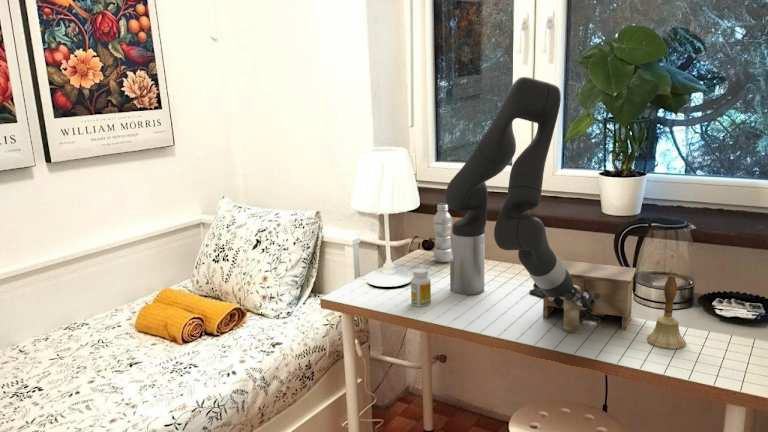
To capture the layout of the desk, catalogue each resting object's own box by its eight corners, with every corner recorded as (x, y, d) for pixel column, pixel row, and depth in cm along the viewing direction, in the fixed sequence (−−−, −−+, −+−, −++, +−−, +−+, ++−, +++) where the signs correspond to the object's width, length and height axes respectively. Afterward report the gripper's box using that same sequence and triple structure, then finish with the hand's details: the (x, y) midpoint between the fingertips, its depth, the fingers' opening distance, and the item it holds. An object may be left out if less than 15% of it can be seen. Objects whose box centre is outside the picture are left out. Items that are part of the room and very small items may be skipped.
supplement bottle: (433, 301, 170) (432, 268, 168) (428, 308, 165) (427, 274, 163) (414, 299, 172) (413, 266, 170) (409, 306, 167) (408, 272, 165)
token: (580, 325, 151) (580, 321, 151) (582, 319, 155) (582, 314, 155) (599, 328, 149) (599, 323, 149) (600, 321, 153) (601, 317, 153)
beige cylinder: (552, 330, 148) (553, 287, 146) (565, 309, 161) (567, 269, 159) (595, 337, 143) (597, 292, 141) (605, 315, 156) (607, 274, 154)
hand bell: (652, 331, 146) (657, 268, 142) (690, 340, 140) (695, 274, 137) (641, 343, 139) (645, 277, 136) (680, 352, 134) (686, 284, 131)
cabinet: (540, 319, 155) (541, 271, 152) (550, 304, 165) (551, 259, 162) (627, 332, 145) (630, 281, 143) (633, 316, 155) (636, 268, 153)
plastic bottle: (432, 264, 205) (432, 206, 201) (434, 258, 211) (433, 202, 207) (452, 264, 204) (451, 206, 200) (453, 259, 210) (452, 202, 206)
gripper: (584, 266, 134) (608, 302, 144) (529, 254, 144) (555, 289, 154) (570, 295, 131) (596, 330, 141) (515, 280, 142) (543, 314, 152)
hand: (574, 308), depth 148 cm, fingers open, 7 cm apart
